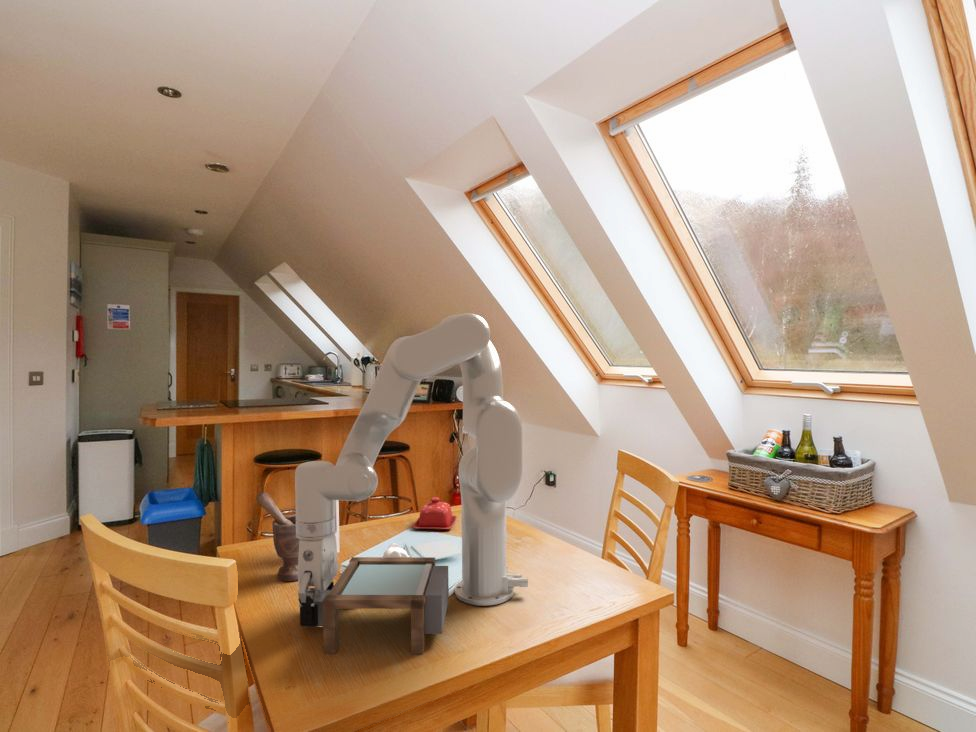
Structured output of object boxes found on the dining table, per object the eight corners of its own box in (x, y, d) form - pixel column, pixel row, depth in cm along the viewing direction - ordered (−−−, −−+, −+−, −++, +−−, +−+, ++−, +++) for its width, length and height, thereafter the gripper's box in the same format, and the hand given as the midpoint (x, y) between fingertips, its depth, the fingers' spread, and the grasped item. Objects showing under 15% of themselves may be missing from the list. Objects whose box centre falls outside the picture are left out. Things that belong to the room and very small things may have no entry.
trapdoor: (449, 598, 113) (448, 563, 112) (441, 636, 98) (441, 596, 98) (360, 597, 113) (360, 563, 113) (340, 635, 98) (339, 596, 98)
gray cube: (334, 614, 110) (334, 590, 110) (327, 627, 105) (326, 601, 105) (310, 614, 110) (309, 589, 110) (301, 627, 105) (300, 601, 105)
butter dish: (411, 531, 159) (411, 502, 158) (421, 519, 170) (420, 491, 170) (451, 533, 157) (451, 503, 157) (457, 520, 169) (457, 492, 168)
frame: (435, 602, 115) (435, 557, 115) (423, 654, 96) (422, 600, 96) (352, 602, 115) (352, 557, 115) (323, 653, 96) (322, 599, 96)
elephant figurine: (378, 568, 133) (377, 543, 133) (411, 564, 135) (411, 540, 135) (380, 579, 126) (380, 554, 126) (415, 575, 128) (415, 550, 128)
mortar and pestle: (262, 589, 122) (260, 499, 121) (256, 575, 129) (254, 490, 128) (316, 578, 127) (314, 491, 126) (308, 565, 135) (306, 483, 134)
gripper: (321, 542, 98) (322, 637, 99) (347, 512, 116) (349, 593, 116) (279, 542, 99) (281, 636, 99) (312, 512, 116) (313, 593, 117)
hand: (317, 613), depth 108 cm, fingers open, 9 cm apart
